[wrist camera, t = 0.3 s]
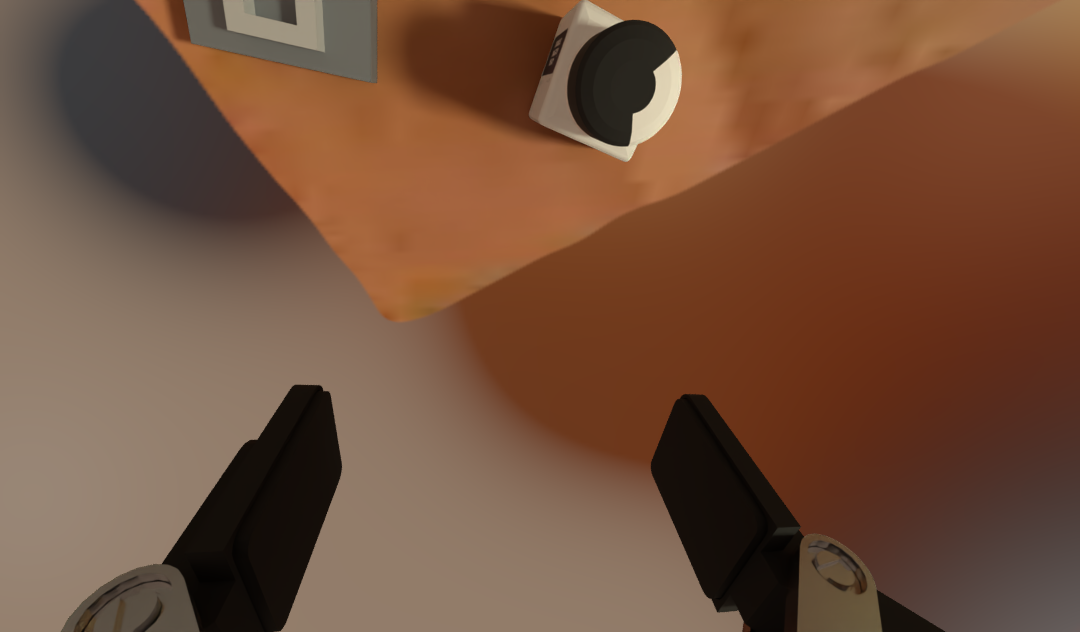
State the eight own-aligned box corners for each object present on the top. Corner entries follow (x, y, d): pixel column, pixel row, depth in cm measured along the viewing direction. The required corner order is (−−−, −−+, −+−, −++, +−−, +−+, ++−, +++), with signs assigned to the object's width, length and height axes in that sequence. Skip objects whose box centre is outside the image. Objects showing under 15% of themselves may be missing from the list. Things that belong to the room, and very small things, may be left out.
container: (526, 117, 34) (547, 129, 23) (561, 16, 31) (604, -27, 20) (603, 151, 37) (655, 177, 25) (643, 60, 33) (723, 44, 22)
